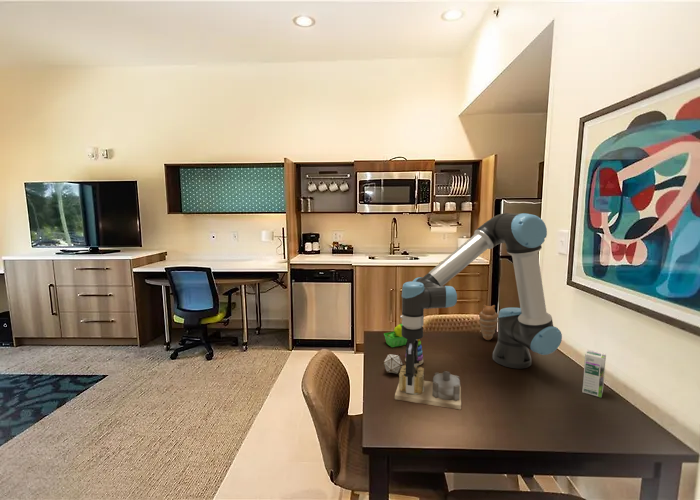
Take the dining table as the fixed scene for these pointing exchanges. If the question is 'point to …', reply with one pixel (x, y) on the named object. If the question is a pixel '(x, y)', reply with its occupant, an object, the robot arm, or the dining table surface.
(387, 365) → the game die
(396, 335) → the fruit basket
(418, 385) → the brass gear
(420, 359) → the stacking toy
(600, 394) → the syrup box
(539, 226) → the robot arm
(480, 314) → the cat ice cream
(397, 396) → the gear board
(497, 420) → the dining table surface
